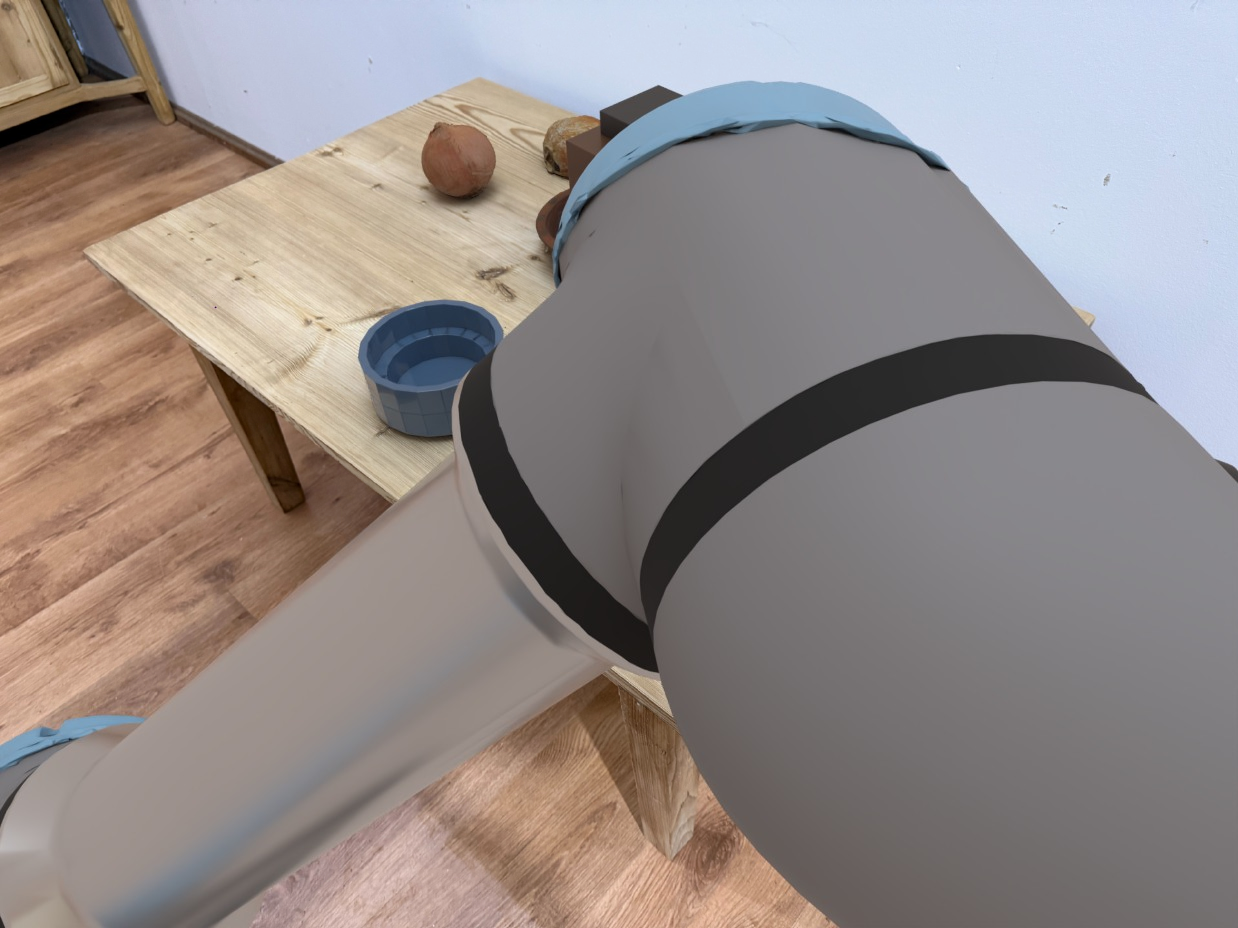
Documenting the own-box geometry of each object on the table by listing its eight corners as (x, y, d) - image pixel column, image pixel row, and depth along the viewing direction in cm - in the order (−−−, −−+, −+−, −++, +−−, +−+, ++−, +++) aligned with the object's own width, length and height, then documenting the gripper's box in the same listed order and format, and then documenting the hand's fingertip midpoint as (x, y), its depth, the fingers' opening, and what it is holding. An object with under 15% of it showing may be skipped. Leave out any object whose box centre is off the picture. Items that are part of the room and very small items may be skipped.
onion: (442, 208, 115) (402, 137, 110) (503, 174, 115) (466, 103, 110) (450, 218, 106) (407, 142, 102) (515, 182, 107) (476, 105, 102)
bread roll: (541, 183, 119) (517, 143, 112) (585, 129, 121) (564, 86, 114) (592, 206, 115) (570, 166, 108) (637, 150, 116) (618, 106, 109)
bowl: (424, 464, 78) (409, 413, 73) (349, 393, 85) (331, 342, 81) (539, 394, 84) (532, 343, 79) (460, 333, 91) (449, 283, 87)
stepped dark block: (912, 220, 49) (919, 191, 48) (853, 258, 47) (859, 229, 45) (658, 107, 60) (658, 81, 58) (600, 133, 57) (598, 107, 56)
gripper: (1124, 767, 44) (737, 605, 46) (1191, 378, 53) (865, 263, 56) (1224, 755, 37) (762, 566, 39) (1281, 310, 46) (904, 183, 49)
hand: (822, 388), depth 48 cm, fingers open, 13 cm apart
